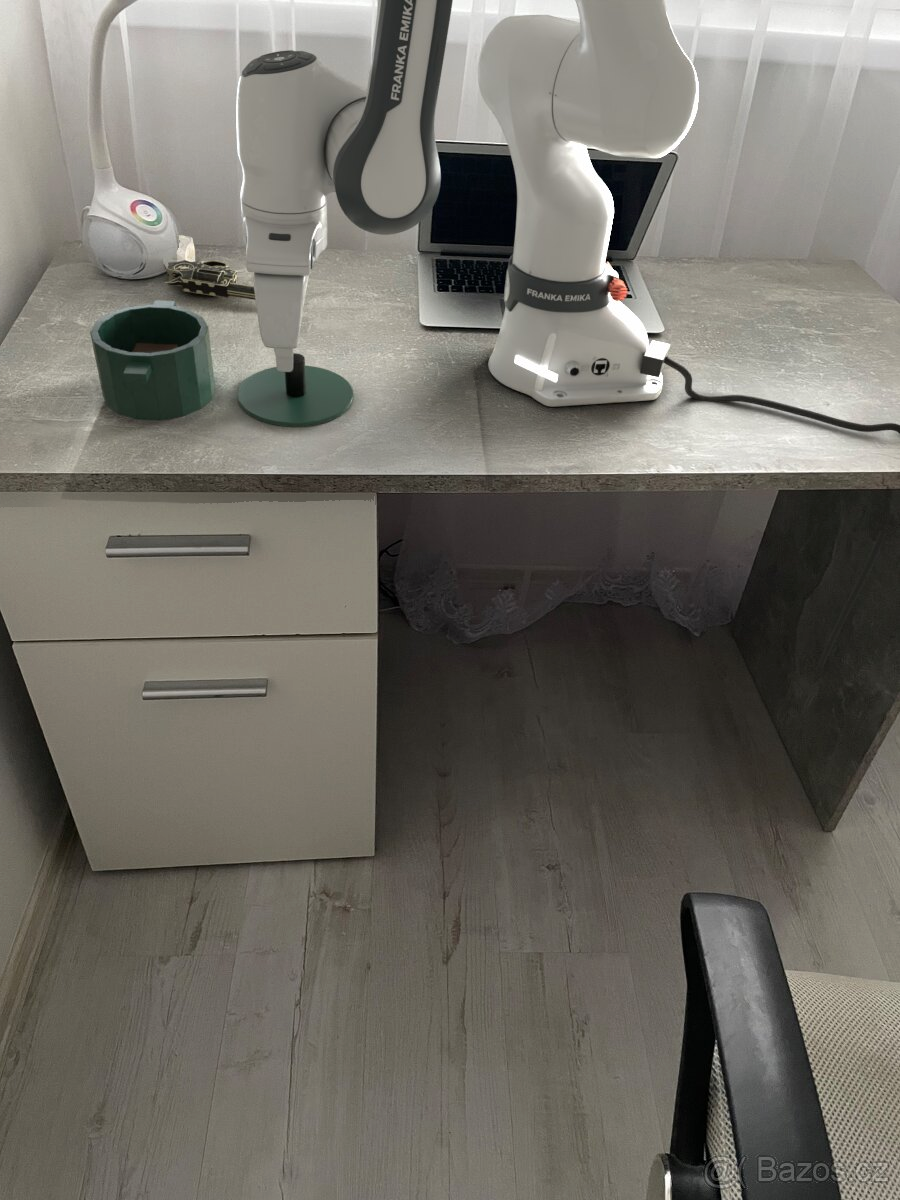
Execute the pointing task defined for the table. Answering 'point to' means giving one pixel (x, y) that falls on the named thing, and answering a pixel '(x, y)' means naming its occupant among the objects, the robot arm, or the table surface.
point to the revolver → (204, 274)
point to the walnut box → (153, 347)
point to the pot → (154, 361)
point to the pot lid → (295, 395)
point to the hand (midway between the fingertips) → (288, 349)
